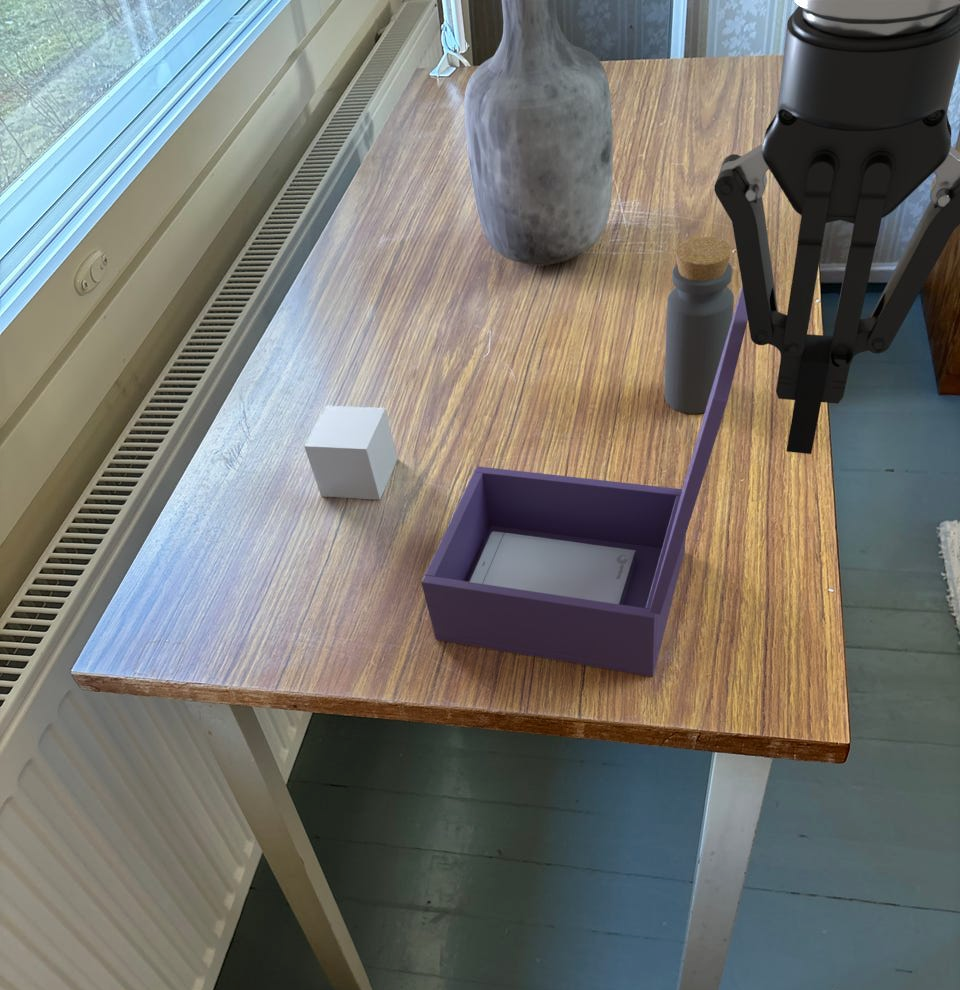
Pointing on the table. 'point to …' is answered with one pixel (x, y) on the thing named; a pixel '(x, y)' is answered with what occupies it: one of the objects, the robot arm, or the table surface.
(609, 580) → the hard drive
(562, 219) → the vase
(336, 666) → the table surface
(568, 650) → the box
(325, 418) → the white cube
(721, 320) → the bottle
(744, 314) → the lid
